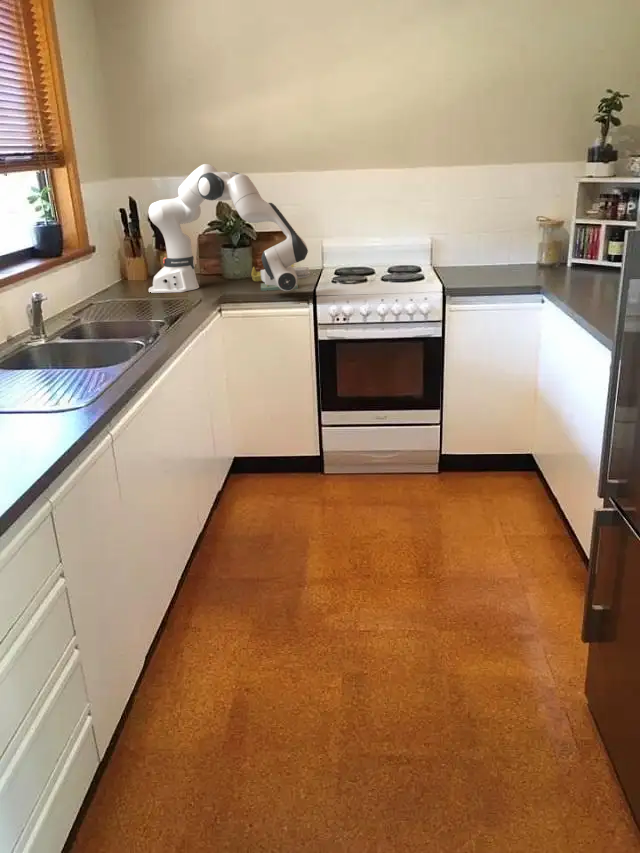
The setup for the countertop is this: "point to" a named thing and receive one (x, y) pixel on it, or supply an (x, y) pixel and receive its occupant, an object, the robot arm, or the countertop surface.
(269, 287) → the board
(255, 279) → the plastic component
